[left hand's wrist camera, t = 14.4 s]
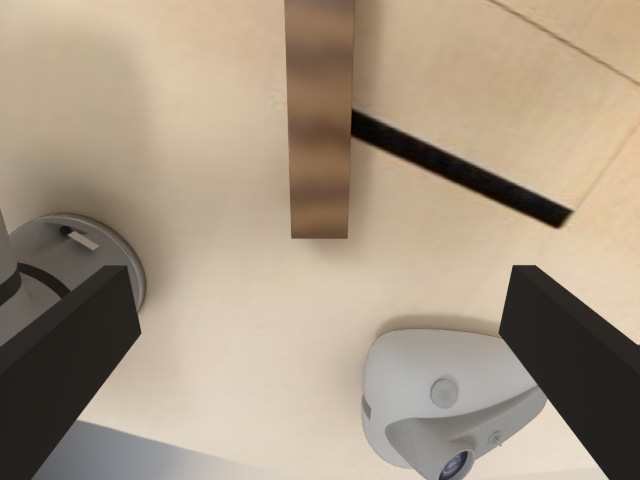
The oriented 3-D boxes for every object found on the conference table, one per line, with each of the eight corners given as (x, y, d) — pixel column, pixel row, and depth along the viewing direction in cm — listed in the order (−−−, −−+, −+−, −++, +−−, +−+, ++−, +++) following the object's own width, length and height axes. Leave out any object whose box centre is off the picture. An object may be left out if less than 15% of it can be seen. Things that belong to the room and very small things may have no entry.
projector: (430, 458, 53) (468, 582, 40) (314, 374, 48) (313, 484, 34) (559, 368, 48) (656, 478, 34) (444, 260, 42) (504, 338, 28)
